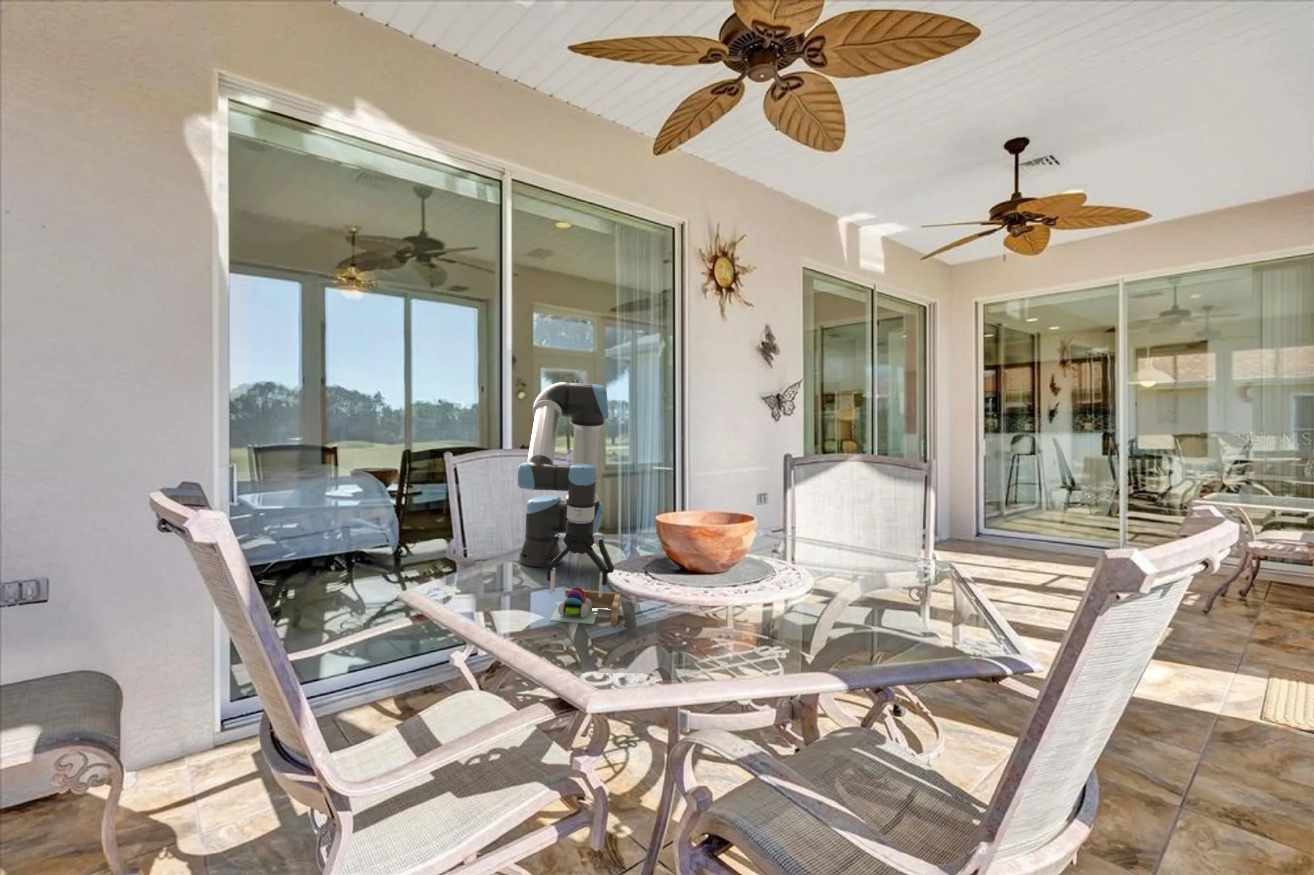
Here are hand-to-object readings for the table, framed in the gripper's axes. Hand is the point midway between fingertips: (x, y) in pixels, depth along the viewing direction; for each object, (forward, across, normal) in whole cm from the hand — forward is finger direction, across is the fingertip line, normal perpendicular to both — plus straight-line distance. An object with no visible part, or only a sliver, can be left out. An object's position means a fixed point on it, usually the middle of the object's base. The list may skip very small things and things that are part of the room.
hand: (576, 593), depth 174 cm
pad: (+6, 0, -1) cm, 6 cm away
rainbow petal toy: (+6, 0, 0) cm, 6 cm away
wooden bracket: (+6, +4, 0) cm, 7 cm away
